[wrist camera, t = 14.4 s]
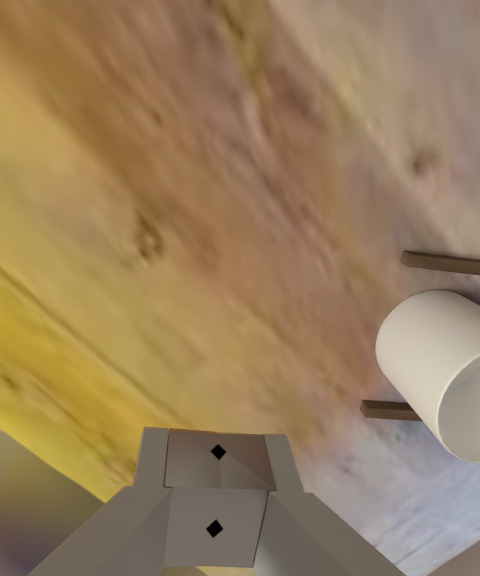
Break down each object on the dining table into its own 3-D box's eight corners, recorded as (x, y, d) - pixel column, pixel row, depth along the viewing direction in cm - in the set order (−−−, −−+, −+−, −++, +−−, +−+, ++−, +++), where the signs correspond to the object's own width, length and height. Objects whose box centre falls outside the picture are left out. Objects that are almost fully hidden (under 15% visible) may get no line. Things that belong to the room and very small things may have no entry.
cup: (438, 266, 42) (527, 311, 31) (499, 336, 46) (599, 399, 35) (352, 344, 44) (407, 413, 33) (417, 406, 48) (486, 487, 36)
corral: (405, 242, 41) (421, 250, 38) (524, 258, 43) (548, 266, 40) (358, 415, 47) (368, 432, 44) (464, 422, 49) (480, 439, 46)
